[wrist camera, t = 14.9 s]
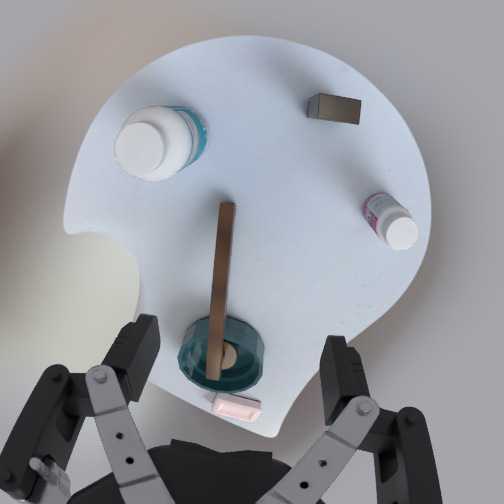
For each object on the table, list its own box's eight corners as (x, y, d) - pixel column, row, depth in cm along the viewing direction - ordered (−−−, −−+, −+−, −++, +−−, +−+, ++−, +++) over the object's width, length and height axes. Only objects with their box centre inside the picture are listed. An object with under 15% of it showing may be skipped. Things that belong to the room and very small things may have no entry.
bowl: (171, 325, 48) (162, 345, 44) (244, 305, 45) (241, 326, 41) (208, 377, 53) (203, 398, 49) (275, 363, 50) (274, 384, 46)
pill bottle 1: (146, 152, 36) (91, 173, 24) (166, 99, 33) (114, 95, 21) (198, 173, 37) (161, 203, 25) (220, 119, 34) (191, 122, 22)
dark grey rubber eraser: (339, 122, 33) (359, 124, 25) (307, 117, 33) (317, 118, 25) (341, 103, 32) (361, 100, 24) (308, 98, 32) (319, 93, 24)
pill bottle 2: (356, 204, 38) (375, 228, 30) (385, 185, 36) (411, 204, 28) (373, 233, 39) (393, 261, 31) (401, 214, 37) (427, 239, 30)
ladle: (236, 367, 47) (229, 394, 37) (207, 363, 48) (193, 389, 37) (250, 216, 48) (247, 204, 37) (220, 213, 48) (208, 201, 37)
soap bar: (218, 389, 54) (217, 399, 52) (263, 401, 55) (262, 411, 53) (212, 403, 57) (210, 412, 55) (254, 414, 57) (253, 424, 55)
